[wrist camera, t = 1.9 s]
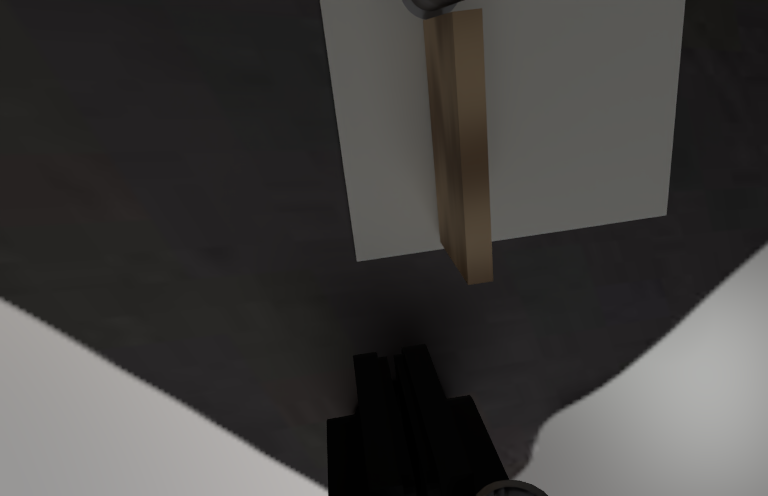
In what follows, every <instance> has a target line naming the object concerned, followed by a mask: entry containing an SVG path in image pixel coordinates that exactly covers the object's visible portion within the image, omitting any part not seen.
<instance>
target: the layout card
mask: <svg viewBox="0 0 768 496" xmlns="http://www.w3.org/2000/svg"><path fill="white" fill-rule="evenodd" d="M320 5H321V12H322V19H323V26H324V33H325V41H326V48H327V55H328V62H329V69H330V76H331V83H332V90H333V97H334V104H335V111H336V118H337V125H338V132H339V139H340V146H341V153H342V160H343V167H344V175H345V182H346V189H347V196H348V203H349V210H350V217H351V224H352V231H353V238H354V245H355V252H356V259H357V262H358V261H365V260H371V259H378V258H385V257H391V256H398V255H405V254H411V253H418V252H425V251H431V250H438V249H444V247H443V246H442V244H441V243H440V233H439V220H438V207H437V195H436V182H435V169H434V156H433V143H432V130H431V118H430V105H429V92H428V79H427V66H426V54H425V41H424V28H423V20H427V19H430V18H433V17H436V16H440V15H443V14H446V13H450V12H454V11H462V10H471V9H479V8H482V15H483V40H484V65H485V90H486V115H487V140H488V165H489V190H490V215H491V240H492V241H498V240H504V239H511V238H518V237H524V236H531V235H538V234H544V233H551V232H558V231H564V230H571V229H578V228H584V227H591V226H598V225H604V224H611V223H617V222H624V221H631V220H637V219H644V218H651V217H657V216H664V215H666V214H667V202H668V191H669V179H670V168H671V157H672V145H673V134H674V122H675V111H676V100H677V88H678V77H679V65H680V54H681V42H682V31H683V20H684V8H685V0H464V1H461V2H458V3H455V4H452V5H450V6H447V7H444V8H441V9H438V10H435V11H426V10H422V9H420V8H418V7H417V6H416V5H415V4H414V3H413V2H412V0H320Z"/></svg>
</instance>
